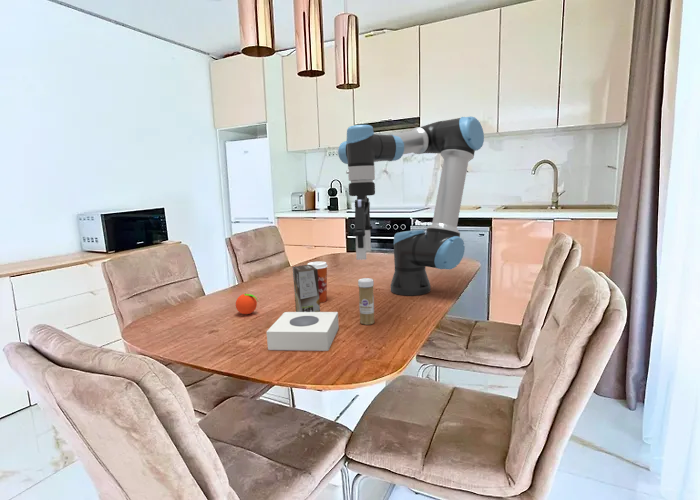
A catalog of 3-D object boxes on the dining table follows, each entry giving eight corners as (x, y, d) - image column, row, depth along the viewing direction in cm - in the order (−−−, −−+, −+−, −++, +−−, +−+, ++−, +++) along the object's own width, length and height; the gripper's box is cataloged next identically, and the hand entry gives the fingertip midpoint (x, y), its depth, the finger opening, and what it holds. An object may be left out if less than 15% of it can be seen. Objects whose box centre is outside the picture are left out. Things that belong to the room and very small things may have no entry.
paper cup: (324, 304, 144) (322, 265, 141) (305, 303, 146) (302, 265, 144) (332, 298, 151) (330, 261, 149) (313, 297, 154) (311, 260, 151)
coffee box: (321, 318, 129) (318, 269, 126) (301, 321, 127) (298, 271, 124) (313, 310, 137) (310, 264, 135) (295, 313, 135) (291, 266, 133)
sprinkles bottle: (360, 325, 121) (358, 281, 119) (359, 320, 126) (357, 277, 123) (375, 324, 121) (373, 280, 119) (374, 319, 126) (373, 277, 123)
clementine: (264, 311, 139) (262, 291, 138) (254, 318, 133) (252, 296, 132) (243, 310, 142) (241, 290, 140) (232, 316, 135) (230, 296, 134)
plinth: (338, 328, 120) (337, 311, 119) (328, 350, 104) (327, 331, 103) (286, 328, 122) (284, 311, 121) (268, 349, 106) (266, 330, 106)
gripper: (354, 182, 129) (356, 248, 132) (341, 182, 105) (345, 263, 108) (377, 181, 128) (379, 248, 131) (370, 181, 104) (373, 263, 107)
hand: (364, 255), depth 120 cm, fingers open, 13 cm apart
